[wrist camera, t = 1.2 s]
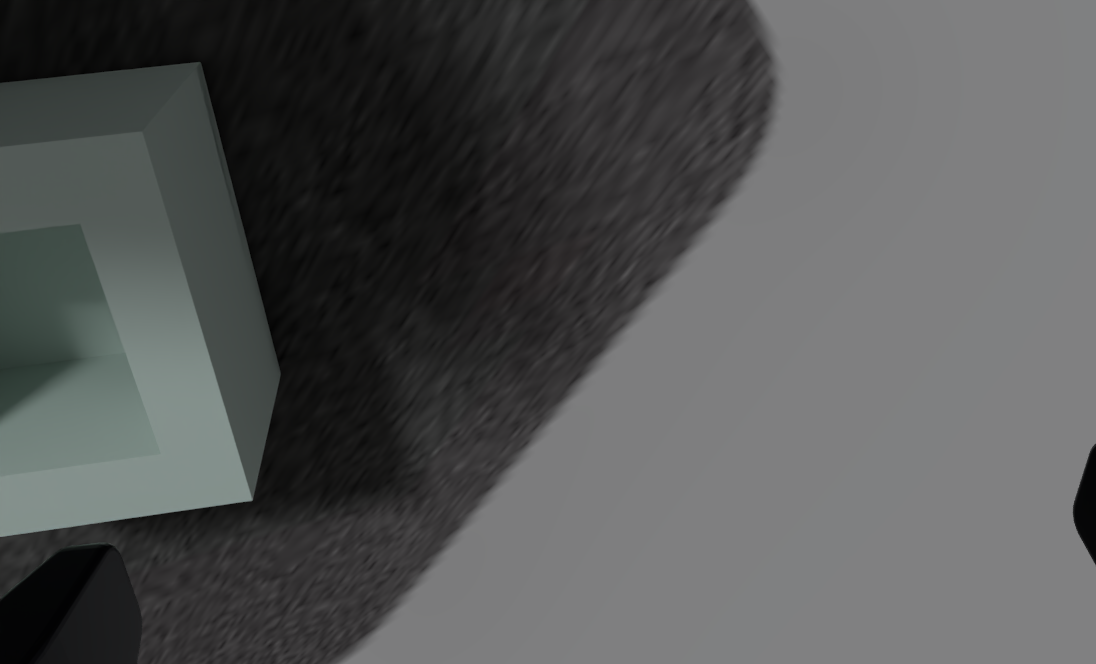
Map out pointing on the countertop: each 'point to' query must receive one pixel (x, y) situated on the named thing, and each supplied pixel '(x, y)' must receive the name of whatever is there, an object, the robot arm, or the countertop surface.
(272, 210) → the countertop surface
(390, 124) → the countertop surface
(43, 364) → the collar block
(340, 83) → the countertop surface
